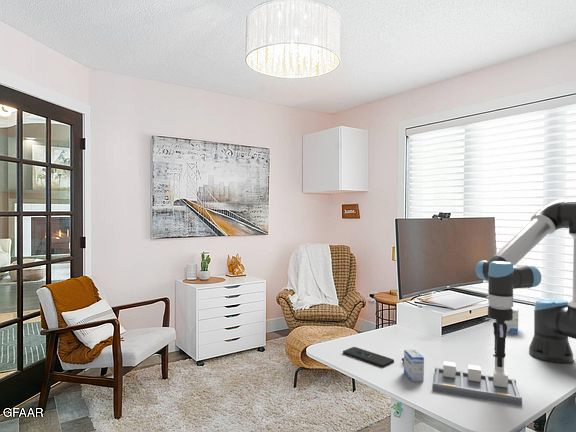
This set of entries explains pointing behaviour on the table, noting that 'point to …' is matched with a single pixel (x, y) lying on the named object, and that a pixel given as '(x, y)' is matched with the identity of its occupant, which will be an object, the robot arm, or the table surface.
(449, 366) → the white cube
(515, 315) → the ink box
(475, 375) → the white cube
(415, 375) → the medicine box
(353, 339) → the table surface
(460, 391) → the gray divided tray
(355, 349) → the smart home device
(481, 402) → the table surface
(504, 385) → the white cube
